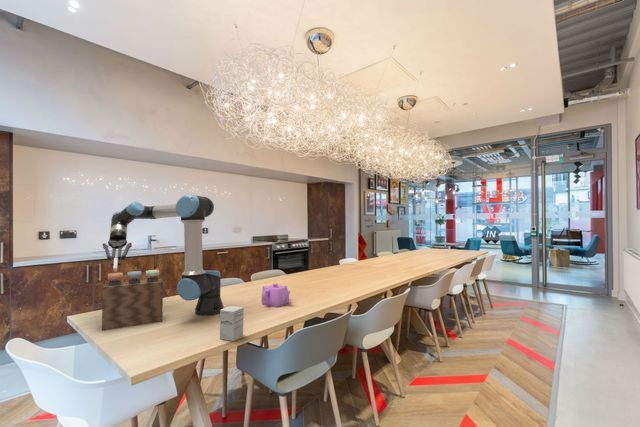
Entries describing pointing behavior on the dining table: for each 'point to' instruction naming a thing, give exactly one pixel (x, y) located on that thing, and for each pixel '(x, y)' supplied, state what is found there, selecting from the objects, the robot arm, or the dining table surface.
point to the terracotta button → (115, 276)
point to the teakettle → (275, 295)
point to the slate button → (134, 275)
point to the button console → (132, 303)
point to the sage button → (152, 273)
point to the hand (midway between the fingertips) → (115, 269)
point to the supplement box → (231, 323)
